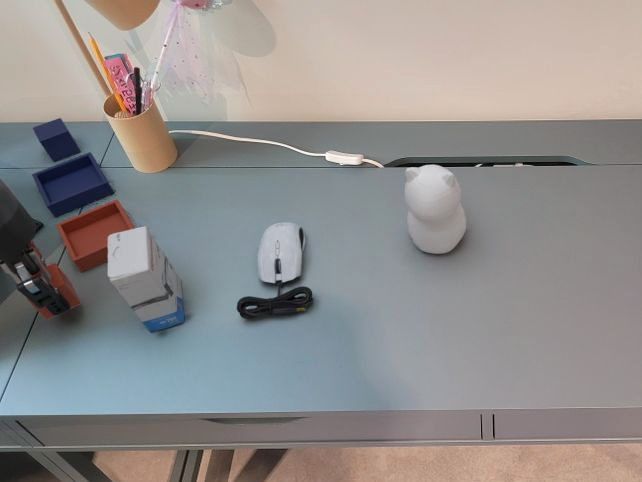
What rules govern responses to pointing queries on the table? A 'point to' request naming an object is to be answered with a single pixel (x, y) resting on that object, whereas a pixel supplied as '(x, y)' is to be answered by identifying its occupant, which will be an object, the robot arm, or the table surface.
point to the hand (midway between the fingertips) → (57, 298)
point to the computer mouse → (279, 271)
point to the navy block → (56, 139)
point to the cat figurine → (434, 208)
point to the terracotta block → (59, 289)
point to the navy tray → (72, 184)
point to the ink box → (145, 278)
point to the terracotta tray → (93, 233)
